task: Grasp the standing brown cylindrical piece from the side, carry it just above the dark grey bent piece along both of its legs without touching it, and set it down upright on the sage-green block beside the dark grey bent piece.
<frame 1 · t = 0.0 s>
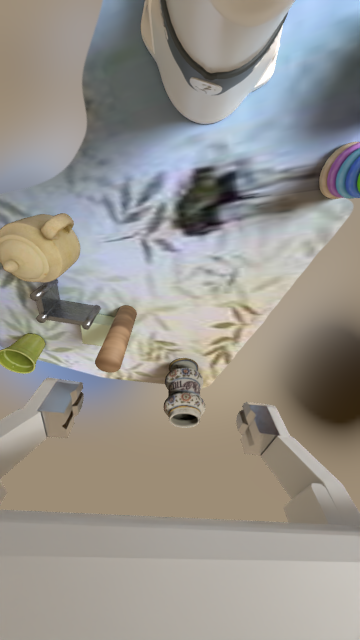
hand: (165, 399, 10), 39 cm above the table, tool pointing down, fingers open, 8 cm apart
plant pot: (35, 339, 60), on the table
dark grey bent piece: (57, 301, 52), on the table
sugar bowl: (55, 233, 42), on the table
brown cylindrical piece: (127, 313, 54), on the table
stacking toy: (339, 172, 36), on the table
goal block: (101, 325, 57), on the table
apothecary jar: (183, 367, 68), on the table
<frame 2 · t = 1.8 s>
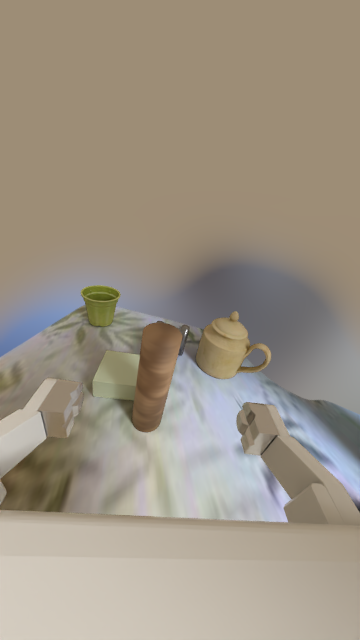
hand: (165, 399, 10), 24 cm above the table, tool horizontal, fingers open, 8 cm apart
plant pot: (101, 321, 55), on the table
dark grey bent piece: (155, 349, 49), on the table
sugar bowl: (223, 365, 50), on the table
brown cylindrical piece: (146, 417, 34), on the table
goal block: (120, 381, 39), on the table
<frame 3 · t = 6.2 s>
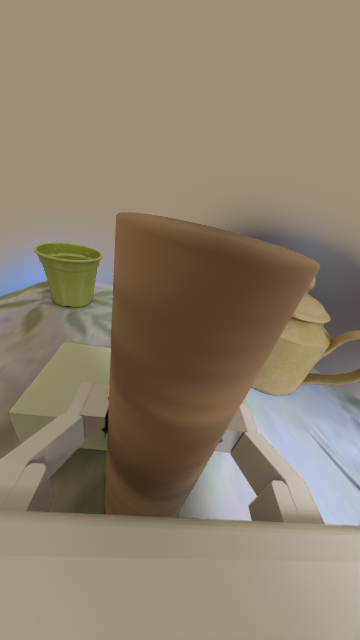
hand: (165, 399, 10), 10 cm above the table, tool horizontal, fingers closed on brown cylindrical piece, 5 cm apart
plant pot: (74, 300, 36), on the table
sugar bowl: (271, 371, 30), on the table
brown cylindrical piece: (141, 499, 14), on the table, touching gripper
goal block: (90, 404, 19), on the table
when the fingers open (15 cm above the table, at t = 14.2 s): brown cylindrical piece stays where it is, resting on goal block.
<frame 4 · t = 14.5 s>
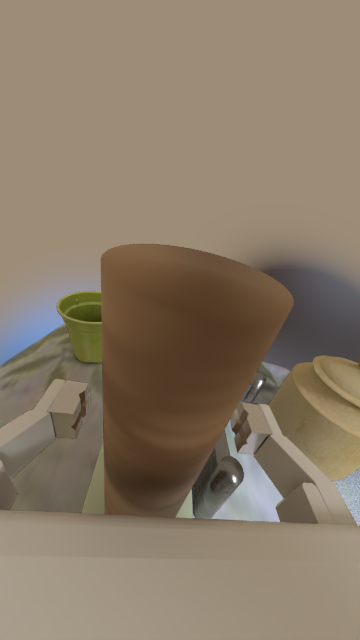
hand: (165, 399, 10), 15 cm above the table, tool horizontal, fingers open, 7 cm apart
plant pot: (95, 351, 33), on the table
dark grey bent piece: (193, 411, 27), on the table
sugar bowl: (317, 439, 27), on the table
brown cylindrical piece: (140, 503, 15), point 4 cm above the table, touching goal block
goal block: (135, 521, 17), on the table
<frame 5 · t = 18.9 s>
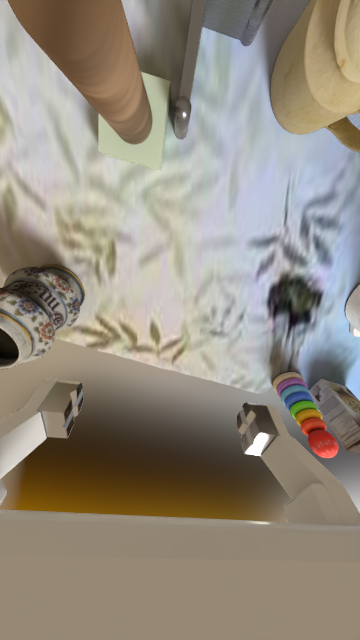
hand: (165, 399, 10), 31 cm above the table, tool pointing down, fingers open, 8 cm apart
coffee box: (325, 388, 57), on the table
dark grey bent piece: (198, 16, 23), on the table
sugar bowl: (322, 89, 26), on the table
brown cylindrical piece: (132, 117, 24), point 4 cm above the table, touching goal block
stacking toy: (285, 380, 55), on the table
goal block: (137, 128, 28), on the table
apothecary jar: (59, 288, 40), on the table
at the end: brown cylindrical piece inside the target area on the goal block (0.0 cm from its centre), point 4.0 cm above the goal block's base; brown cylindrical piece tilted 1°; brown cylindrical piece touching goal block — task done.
